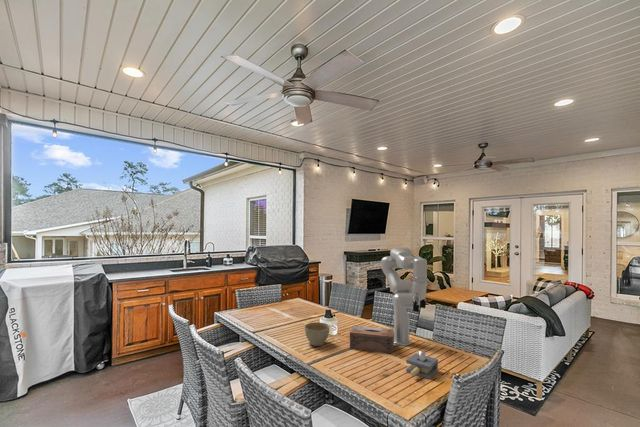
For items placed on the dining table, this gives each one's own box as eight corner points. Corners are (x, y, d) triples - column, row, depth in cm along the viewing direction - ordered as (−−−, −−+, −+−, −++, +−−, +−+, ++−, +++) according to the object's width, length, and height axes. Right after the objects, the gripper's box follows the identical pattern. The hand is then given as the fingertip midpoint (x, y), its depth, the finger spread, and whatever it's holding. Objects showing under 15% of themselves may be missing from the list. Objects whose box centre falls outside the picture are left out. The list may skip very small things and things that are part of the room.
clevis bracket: (401, 376, 156) (401, 363, 156) (415, 364, 170) (415, 353, 170) (425, 383, 148) (425, 370, 149) (437, 370, 162) (437, 359, 163)
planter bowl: (299, 345, 195) (299, 327, 196) (312, 337, 209) (312, 321, 210) (322, 350, 187) (322, 331, 188) (333, 341, 202) (334, 324, 202)
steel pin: (418, 371, 161) (418, 351, 162) (420, 369, 164) (420, 350, 164) (424, 373, 159) (424, 353, 160) (426, 371, 162) (426, 351, 162)
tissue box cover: (393, 345, 198) (393, 329, 199) (392, 353, 184) (392, 336, 185) (353, 340, 205) (353, 325, 206) (349, 348, 191) (349, 332, 192)
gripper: (419, 277, 189) (419, 305, 189) (407, 281, 176) (406, 311, 176) (431, 278, 184) (431, 307, 184) (420, 283, 171) (419, 314, 171)
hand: (419, 309), depth 180 cm, fingers open, 9 cm apart
